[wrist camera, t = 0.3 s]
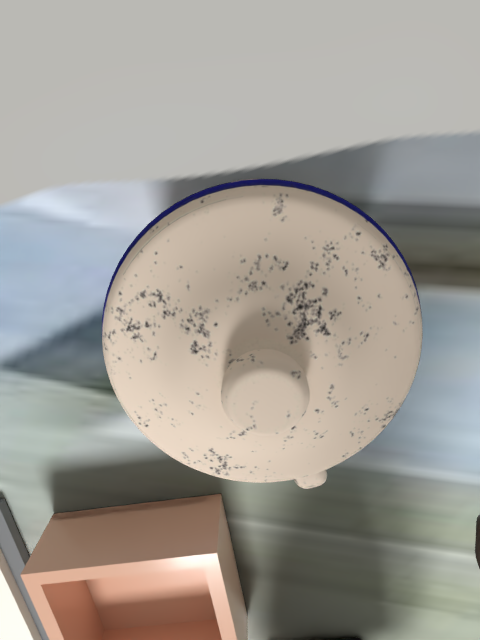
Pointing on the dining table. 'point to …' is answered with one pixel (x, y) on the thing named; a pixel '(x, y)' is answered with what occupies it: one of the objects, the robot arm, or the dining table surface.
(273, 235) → the teacup with lid
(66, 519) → the open box
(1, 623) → the cover board
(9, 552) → the mat
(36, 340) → the dining table surface
